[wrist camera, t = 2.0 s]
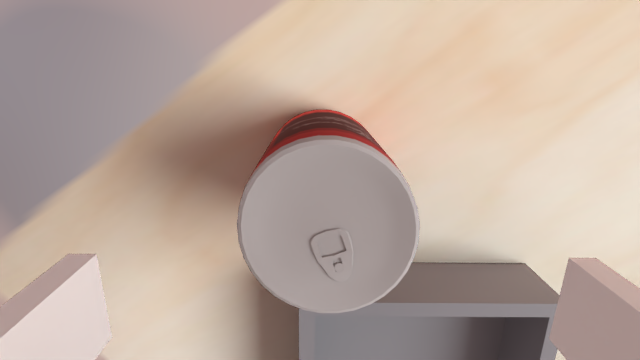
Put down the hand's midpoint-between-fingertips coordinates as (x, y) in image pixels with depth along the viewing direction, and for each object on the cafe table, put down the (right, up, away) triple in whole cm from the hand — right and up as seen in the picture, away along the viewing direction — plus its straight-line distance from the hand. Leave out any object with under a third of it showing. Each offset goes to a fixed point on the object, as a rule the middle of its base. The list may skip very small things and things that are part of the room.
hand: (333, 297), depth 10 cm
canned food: (0, +4, +15) cm, 16 cm away
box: (+7, -11, +20) cm, 24 cm away
